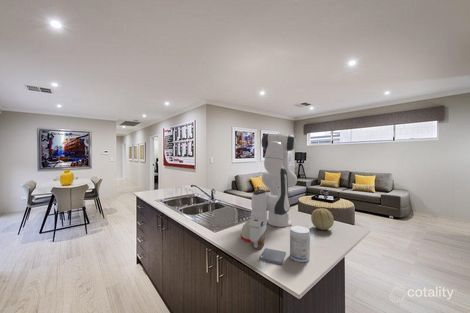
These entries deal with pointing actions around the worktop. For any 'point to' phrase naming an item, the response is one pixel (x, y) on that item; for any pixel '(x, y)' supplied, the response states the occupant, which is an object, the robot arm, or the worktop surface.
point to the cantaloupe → (322, 218)
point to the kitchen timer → (246, 232)
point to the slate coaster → (272, 256)
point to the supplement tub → (300, 243)
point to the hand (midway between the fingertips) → (258, 243)
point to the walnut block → (260, 243)
